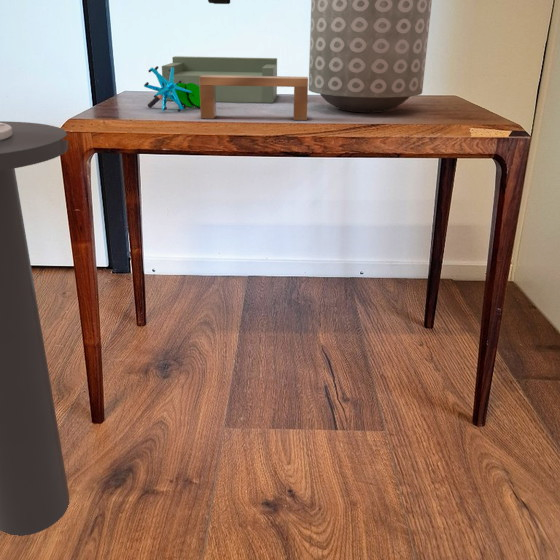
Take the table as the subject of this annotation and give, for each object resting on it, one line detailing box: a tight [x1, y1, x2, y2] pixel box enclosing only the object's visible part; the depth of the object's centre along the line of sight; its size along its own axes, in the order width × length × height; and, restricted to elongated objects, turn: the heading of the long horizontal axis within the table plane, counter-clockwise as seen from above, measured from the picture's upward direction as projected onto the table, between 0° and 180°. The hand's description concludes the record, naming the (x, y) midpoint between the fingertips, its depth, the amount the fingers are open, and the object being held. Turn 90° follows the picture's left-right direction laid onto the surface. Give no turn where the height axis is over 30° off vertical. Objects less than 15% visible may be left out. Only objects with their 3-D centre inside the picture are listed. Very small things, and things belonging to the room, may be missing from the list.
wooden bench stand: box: [199, 75, 309, 121], centre depth 90 cm, size 16×3×6 cm, turn 89°
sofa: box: [161, 55, 278, 104], centre depth 112 cm, size 12×20×7 cm, turn 87°
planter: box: [308, 0, 433, 113], centre depth 98 cm, size 19×19×18 cm
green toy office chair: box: [143, 65, 201, 113], centre depth 99 cm, size 12×7×8 cm
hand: (219, 2), depth 105 cm, fingers closed on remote, 5 cm apart
